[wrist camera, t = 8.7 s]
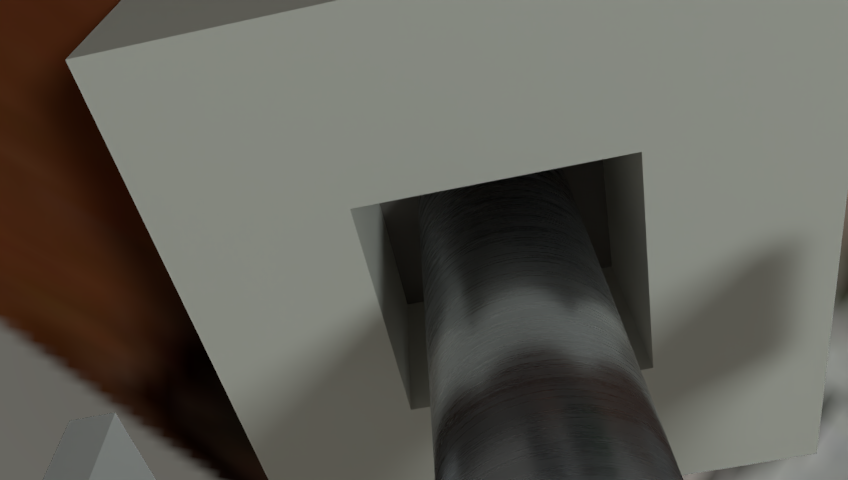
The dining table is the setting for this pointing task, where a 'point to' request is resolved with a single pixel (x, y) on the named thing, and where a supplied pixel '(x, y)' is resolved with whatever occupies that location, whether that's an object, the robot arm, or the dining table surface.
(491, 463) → the pin
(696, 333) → the bore block
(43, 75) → the dining table surface
